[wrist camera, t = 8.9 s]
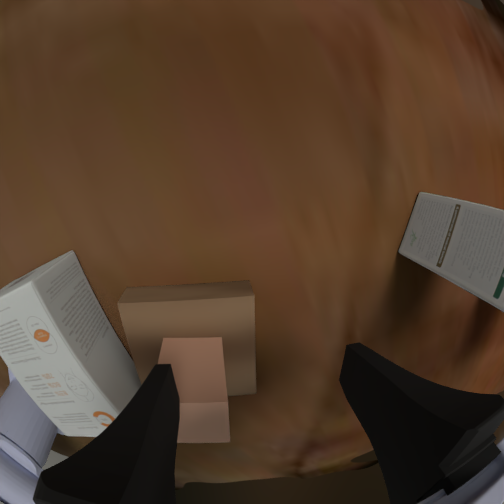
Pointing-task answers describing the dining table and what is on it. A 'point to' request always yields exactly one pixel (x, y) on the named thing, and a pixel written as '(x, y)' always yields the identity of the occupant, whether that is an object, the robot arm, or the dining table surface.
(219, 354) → the terracotta block
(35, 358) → the small box
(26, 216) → the dining table surface
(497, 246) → the syrup box
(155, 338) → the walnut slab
